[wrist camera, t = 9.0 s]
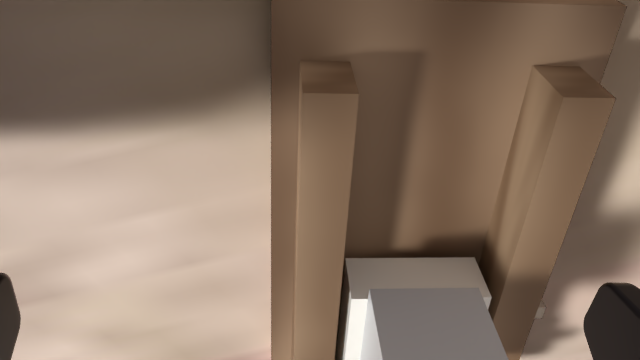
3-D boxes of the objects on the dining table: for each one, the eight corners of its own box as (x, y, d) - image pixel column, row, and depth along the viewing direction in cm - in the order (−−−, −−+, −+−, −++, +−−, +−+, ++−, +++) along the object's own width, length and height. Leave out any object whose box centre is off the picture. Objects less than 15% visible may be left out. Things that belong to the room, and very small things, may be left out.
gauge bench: (271, 415, 30) (270, 503, 26) (271, -14, 17) (269, 36, 14) (475, 409, 31) (503, 493, 27) (611, -3, 18) (696, 47, 15)
